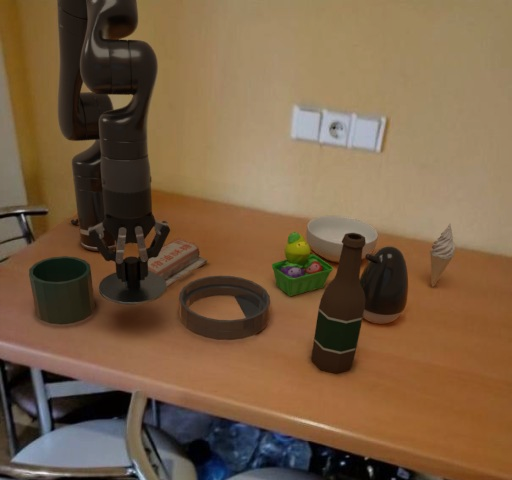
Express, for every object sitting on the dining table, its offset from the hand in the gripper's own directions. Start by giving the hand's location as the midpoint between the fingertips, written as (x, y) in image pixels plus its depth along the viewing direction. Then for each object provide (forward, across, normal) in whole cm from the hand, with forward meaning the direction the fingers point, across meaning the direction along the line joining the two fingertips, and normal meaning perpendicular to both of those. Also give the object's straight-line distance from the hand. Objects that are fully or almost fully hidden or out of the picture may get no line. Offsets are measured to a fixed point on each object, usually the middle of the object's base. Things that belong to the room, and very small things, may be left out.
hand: (132, 278), depth 98 cm
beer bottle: (+11, -32, +17) cm, 38 cm away
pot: (+11, +12, -9) cm, 18 cm away
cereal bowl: (+11, -51, -22) cm, 57 cm away
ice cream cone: (+11, -66, -4) cm, 67 cm away
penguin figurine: (+11, -47, +5) cm, 49 cm away
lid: (+2, 0, 0) cm, 2 cm away
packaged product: (+11, -9, -21) cm, 25 cm away
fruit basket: (+11, -36, -10) cm, 39 cm away
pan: (+11, -17, -1) cm, 20 cm away
